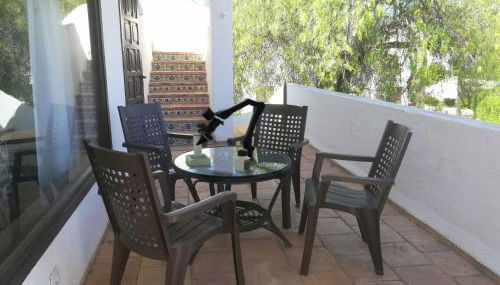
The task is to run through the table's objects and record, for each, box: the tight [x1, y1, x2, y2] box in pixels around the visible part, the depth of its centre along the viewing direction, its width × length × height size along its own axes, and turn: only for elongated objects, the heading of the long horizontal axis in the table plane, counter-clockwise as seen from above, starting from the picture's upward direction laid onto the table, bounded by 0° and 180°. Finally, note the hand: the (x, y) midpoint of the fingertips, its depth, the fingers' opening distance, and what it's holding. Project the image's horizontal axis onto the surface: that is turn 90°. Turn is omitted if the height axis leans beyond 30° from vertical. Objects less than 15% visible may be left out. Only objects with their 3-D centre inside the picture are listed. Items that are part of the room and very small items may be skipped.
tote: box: [185, 152, 212, 168], centre depth 245 cm, size 15×13×4 cm
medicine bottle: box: [233, 148, 252, 173], centre depth 231 cm, size 7×7×12 cm
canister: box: [192, 132, 203, 155], centre depth 243 cm, size 5×5×13 cm
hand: (195, 144), depth 243 cm, fingers closed on canister, 5 cm apart
